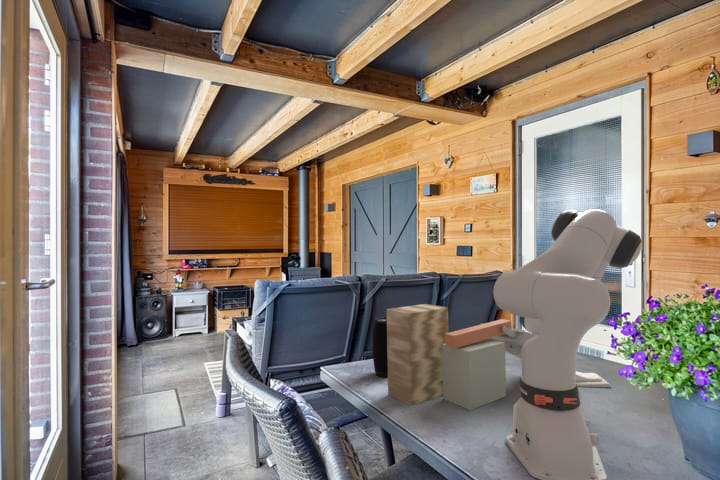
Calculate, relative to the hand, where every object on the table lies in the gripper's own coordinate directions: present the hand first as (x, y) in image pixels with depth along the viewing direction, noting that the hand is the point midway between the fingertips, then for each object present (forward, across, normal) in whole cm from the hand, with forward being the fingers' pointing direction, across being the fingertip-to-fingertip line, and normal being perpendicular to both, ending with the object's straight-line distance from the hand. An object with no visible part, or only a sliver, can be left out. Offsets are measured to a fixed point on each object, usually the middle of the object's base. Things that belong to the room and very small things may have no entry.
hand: (495, 326), depth 125 cm
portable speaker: (+6, +32, -26) cm, 42 cm away
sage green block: (-1, 0, -22) cm, 22 cm away
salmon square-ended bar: (+5, 0, -6) cm, 8 cm away
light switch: (-35, -12, -3) cm, 37 cm away
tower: (+9, +12, -28) cm, 31 cm away
